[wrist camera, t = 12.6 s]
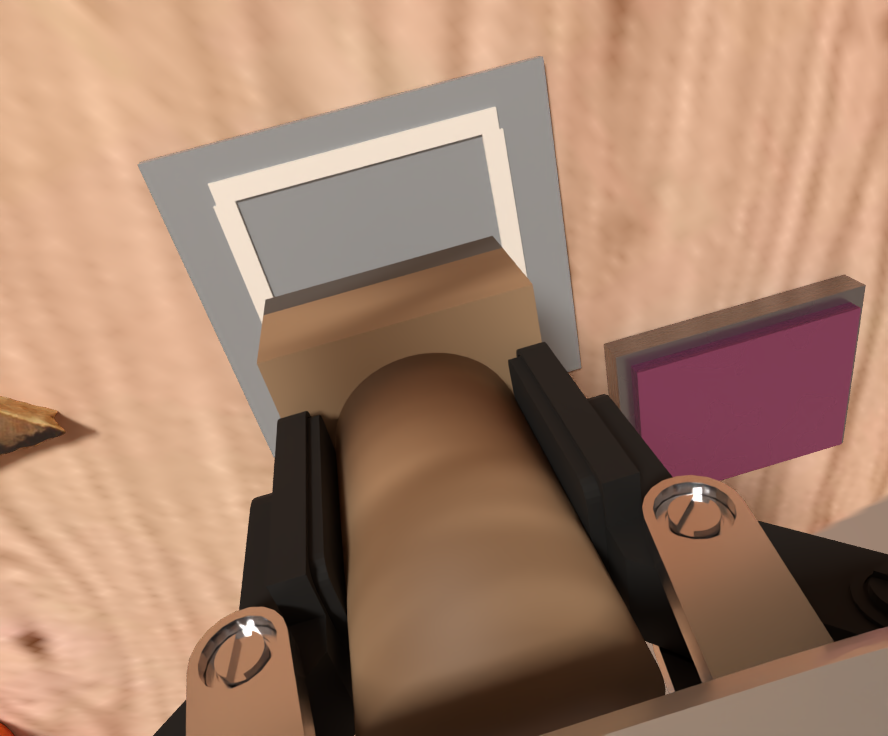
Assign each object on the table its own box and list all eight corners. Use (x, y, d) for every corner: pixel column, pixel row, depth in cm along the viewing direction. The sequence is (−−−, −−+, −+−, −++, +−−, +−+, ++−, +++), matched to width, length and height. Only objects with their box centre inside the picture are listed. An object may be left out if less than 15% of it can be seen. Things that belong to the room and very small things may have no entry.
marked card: (539, 56, 17) (544, 57, 17) (578, 364, 22) (582, 369, 22) (140, 162, 17) (136, 165, 16) (274, 452, 22) (273, 458, 21)
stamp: (492, 235, 14) (725, 517, 6) (526, 419, 16) (720, 776, 9) (265, 299, 13) (212, 677, 6) (336, 476, 16) (365, 895, 8)
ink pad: (844, 274, 22) (876, 290, 21) (825, 428, 26) (851, 450, 25) (604, 344, 22) (622, 364, 21) (618, 490, 26) (634, 515, 24)
